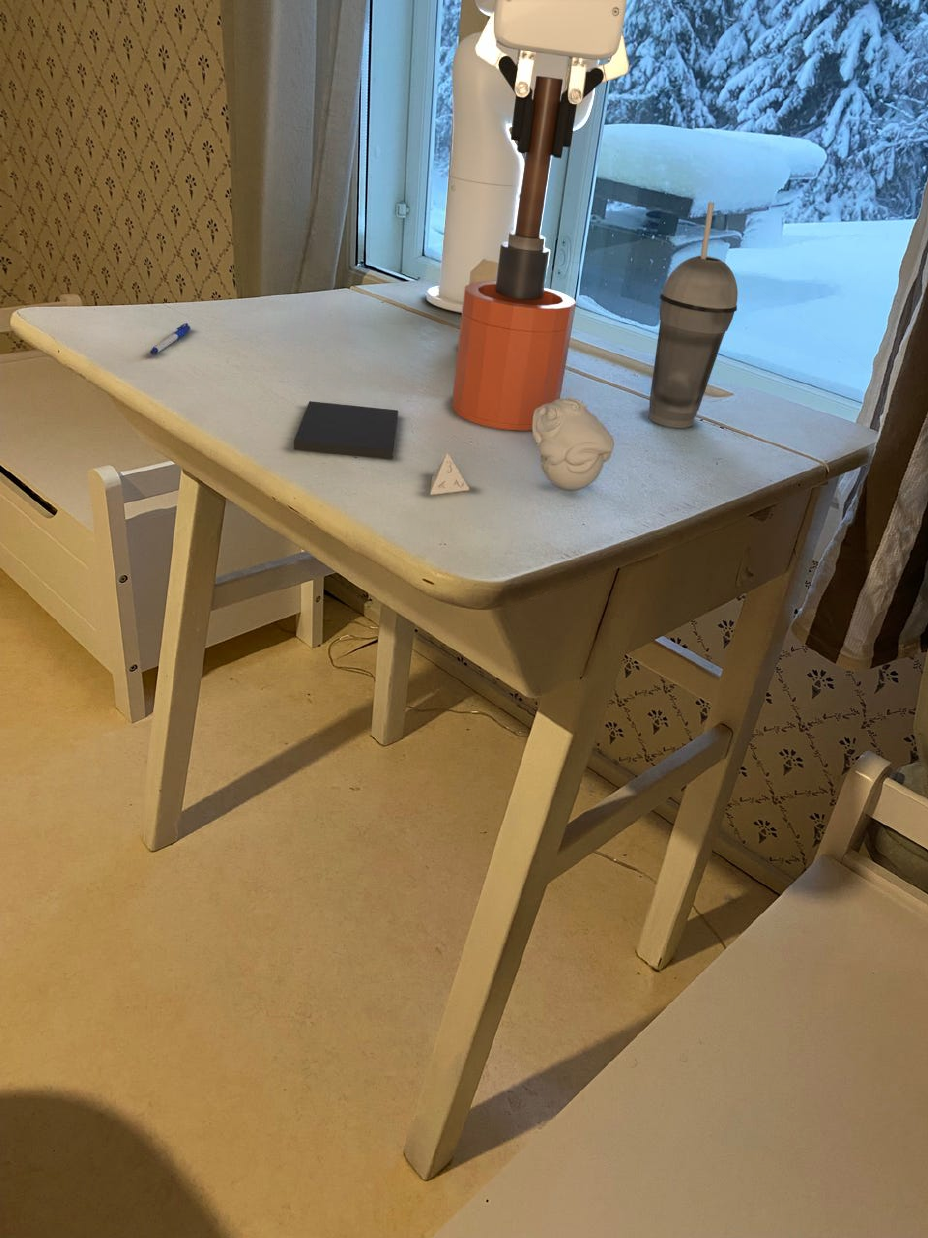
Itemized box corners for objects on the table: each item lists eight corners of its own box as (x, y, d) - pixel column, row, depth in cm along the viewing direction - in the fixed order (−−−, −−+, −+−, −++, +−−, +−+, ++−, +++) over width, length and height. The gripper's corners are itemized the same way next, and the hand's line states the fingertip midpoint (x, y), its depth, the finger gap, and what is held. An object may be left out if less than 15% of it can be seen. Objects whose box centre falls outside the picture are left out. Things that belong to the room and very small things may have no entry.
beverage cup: (669, 436, 89) (723, 210, 79) (619, 410, 94) (663, 195, 84) (721, 428, 93) (779, 213, 82) (670, 404, 98) (719, 198, 87)
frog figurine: (546, 463, 79) (559, 383, 75) (619, 489, 76) (637, 406, 72) (507, 482, 74) (520, 397, 71) (583, 510, 71) (600, 423, 68)
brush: (493, 285, 86) (520, 72, 77) (541, 290, 86) (573, 79, 77) (496, 296, 82) (524, 74, 73) (545, 302, 82) (579, 81, 73)
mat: (309, 409, 84) (309, 400, 83) (397, 418, 84) (398, 410, 84) (293, 449, 75) (293, 440, 75) (392, 459, 76) (393, 450, 75)
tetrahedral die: (413, 498, 72) (409, 467, 70) (432, 477, 74) (429, 446, 71) (451, 511, 71) (448, 480, 68) (470, 489, 72) (467, 459, 70)
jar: (451, 390, 93) (464, 276, 88) (550, 401, 94) (568, 288, 88) (452, 424, 85) (466, 300, 79) (560, 435, 85) (581, 313, 80)
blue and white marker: (183, 329, 101) (182, 320, 100) (191, 330, 101) (191, 321, 100) (149, 355, 92) (148, 345, 91) (158, 357, 92) (157, 346, 91)
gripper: (673, -101, 72) (624, 160, 82) (468, -131, 71) (443, 137, 81) (695, -115, 66) (639, 171, 76) (470, -148, 65) (443, 146, 74)
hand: (538, 151), depth 78 cm, fingers closed on brush, 2 cm apart
